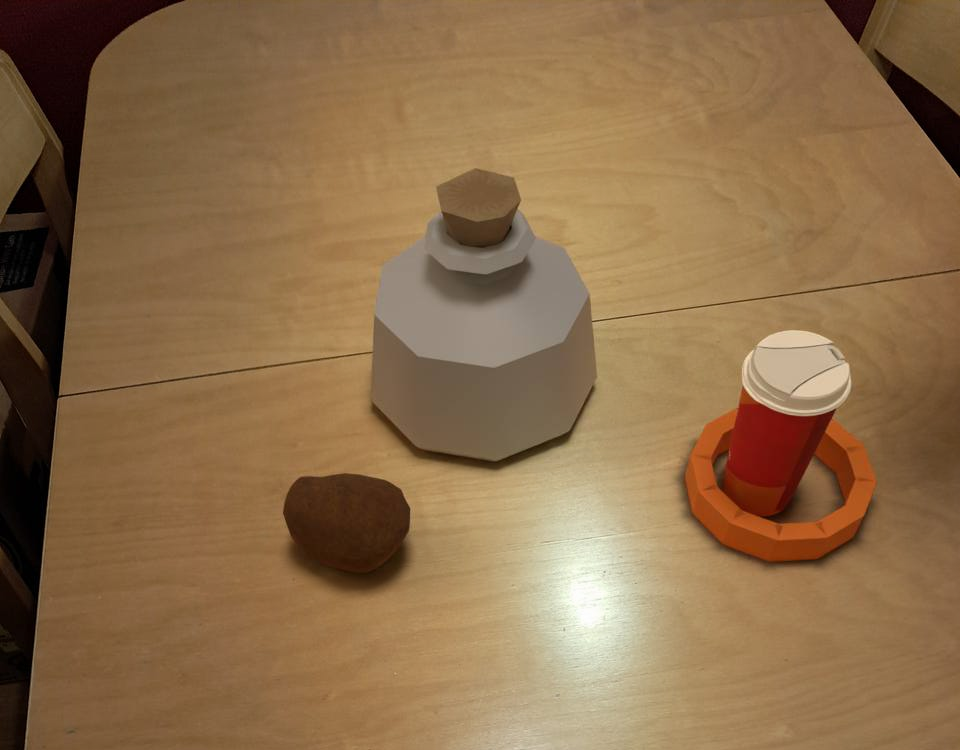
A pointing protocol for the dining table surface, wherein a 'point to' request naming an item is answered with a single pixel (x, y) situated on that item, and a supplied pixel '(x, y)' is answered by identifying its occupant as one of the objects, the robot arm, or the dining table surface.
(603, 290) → the dining table surface
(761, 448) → the paper cup
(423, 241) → the bottle
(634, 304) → the dining table surface
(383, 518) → the potato
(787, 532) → the ring
